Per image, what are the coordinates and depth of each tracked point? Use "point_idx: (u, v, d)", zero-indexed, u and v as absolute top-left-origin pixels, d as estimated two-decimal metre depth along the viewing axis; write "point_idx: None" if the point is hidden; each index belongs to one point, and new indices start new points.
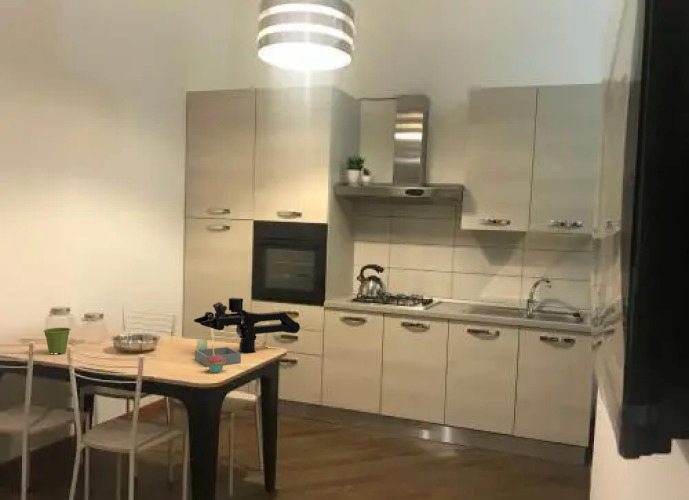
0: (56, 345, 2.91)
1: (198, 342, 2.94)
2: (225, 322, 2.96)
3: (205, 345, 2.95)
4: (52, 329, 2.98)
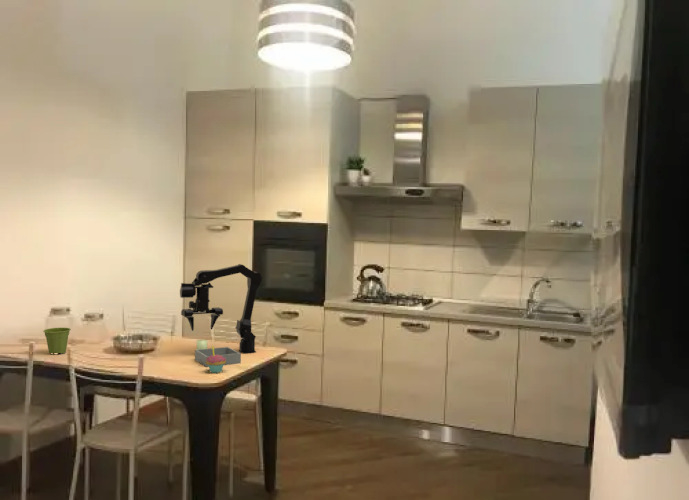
0: (56, 345, 2.91)
1: (198, 342, 2.94)
2: (197, 303, 2.93)
3: (205, 345, 2.95)
4: (52, 329, 2.98)
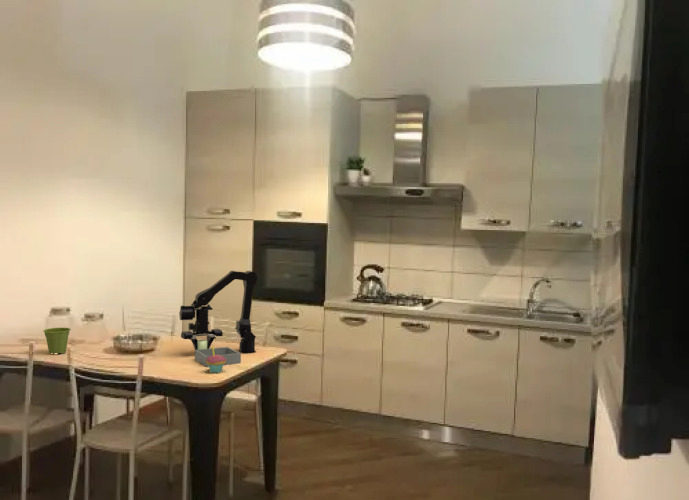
0: (56, 345, 2.91)
1: (198, 342, 2.94)
2: (197, 325, 2.94)
3: (205, 345, 2.95)
4: (52, 329, 2.98)
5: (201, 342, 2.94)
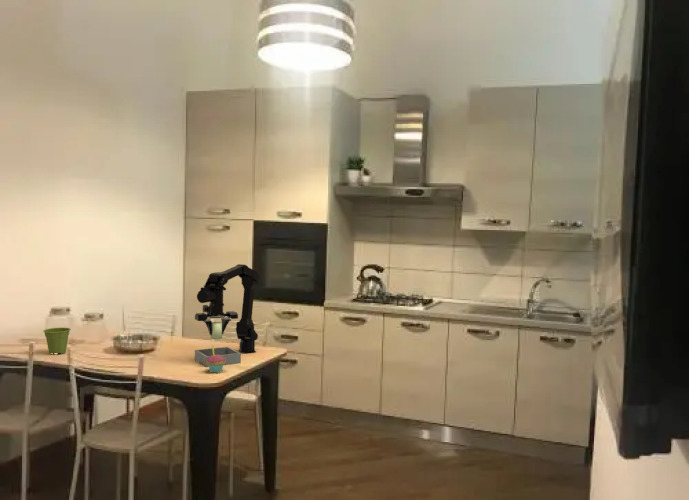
0: (56, 345, 2.91)
1: (212, 324, 2.82)
2: (211, 307, 2.81)
3: (220, 328, 2.82)
4: (52, 329, 2.98)
5: (216, 324, 2.81)
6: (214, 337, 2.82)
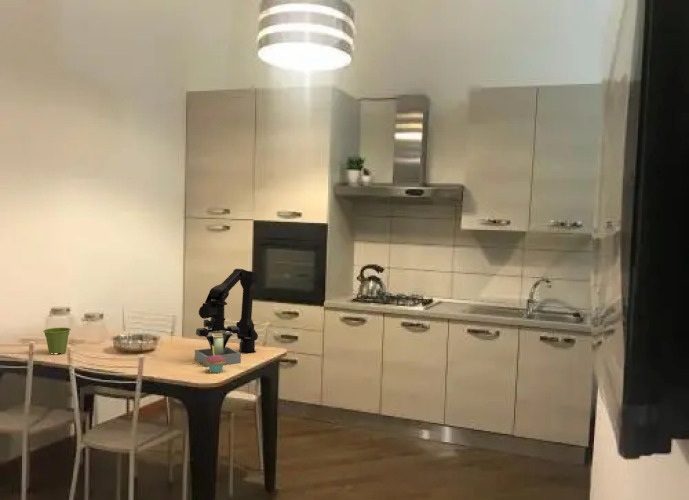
0: (56, 345, 2.91)
1: (214, 339, 2.81)
2: (212, 322, 2.81)
3: (221, 343, 2.82)
4: (52, 329, 2.98)
5: (217, 339, 2.81)
6: (216, 352, 2.81)
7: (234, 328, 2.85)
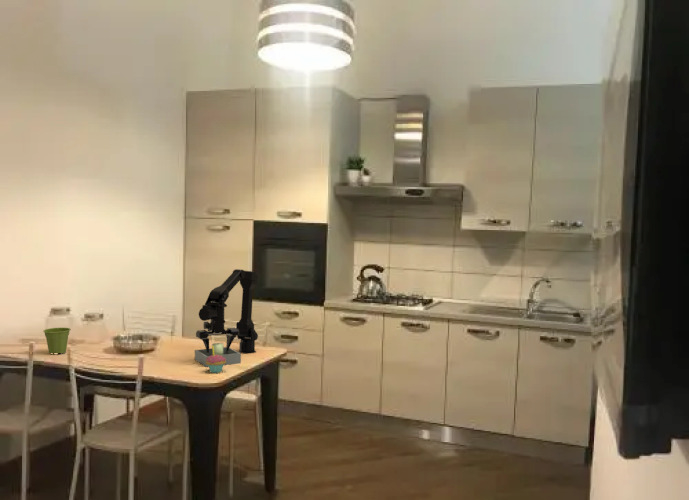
0: (56, 345, 2.91)
1: (214, 346, 2.81)
2: (212, 324, 2.81)
3: (221, 349, 2.82)
4: (52, 329, 2.98)
5: (217, 346, 2.81)
6: None
7: (234, 330, 2.85)
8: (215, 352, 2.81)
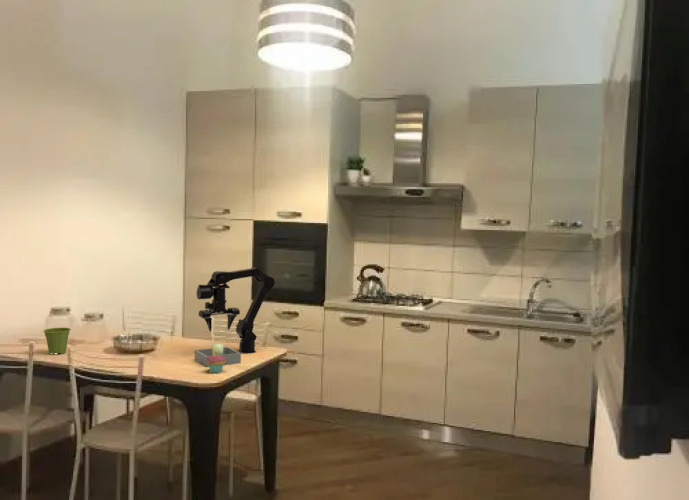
0: (56, 345, 2.91)
1: (214, 346, 2.81)
2: (214, 304, 2.94)
3: (221, 349, 2.82)
4: (52, 329, 2.98)
5: (217, 346, 2.81)
6: None
7: (235, 309, 2.98)
8: (215, 352, 2.81)
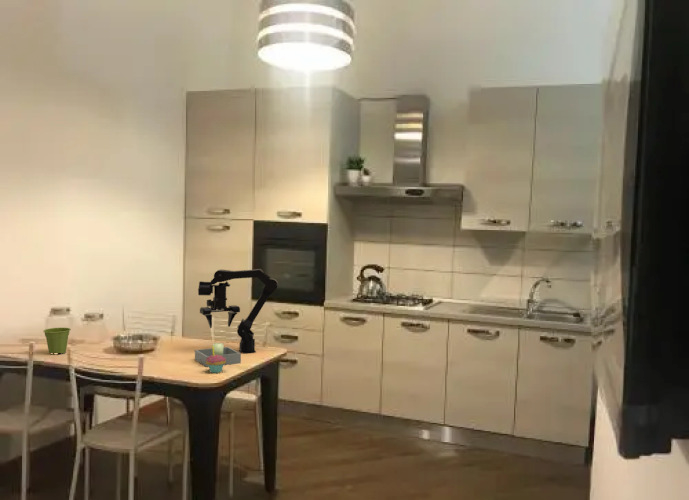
0: (56, 345, 2.91)
1: (214, 346, 2.81)
2: (215, 301, 3.01)
3: (221, 349, 2.82)
4: (52, 329, 2.98)
5: (217, 346, 2.81)
6: None
7: (235, 307, 3.05)
8: (215, 352, 2.81)
